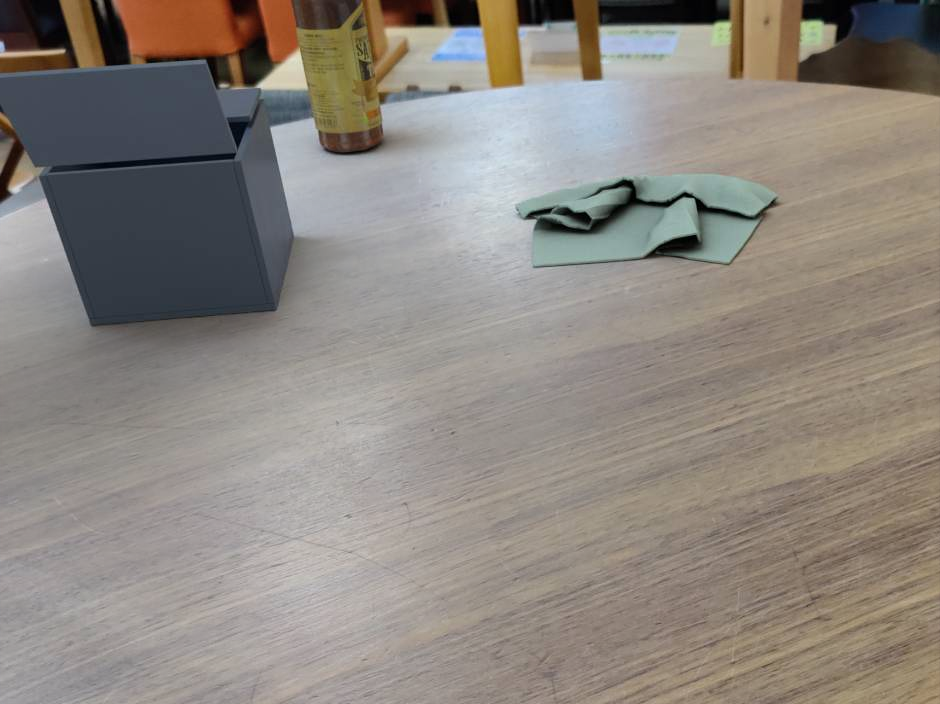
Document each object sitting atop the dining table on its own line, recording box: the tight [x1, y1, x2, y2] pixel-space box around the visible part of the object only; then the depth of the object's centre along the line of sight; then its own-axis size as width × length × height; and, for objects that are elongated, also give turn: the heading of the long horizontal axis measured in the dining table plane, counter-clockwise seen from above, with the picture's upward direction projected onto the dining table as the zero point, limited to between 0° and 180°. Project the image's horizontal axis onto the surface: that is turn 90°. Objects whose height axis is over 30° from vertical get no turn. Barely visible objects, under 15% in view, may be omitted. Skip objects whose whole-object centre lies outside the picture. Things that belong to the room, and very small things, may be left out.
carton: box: [38, 87, 295, 326], centre depth 87 cm, size 14×13×11 cm
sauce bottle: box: [290, 0, 384, 153], centre depth 108 cm, size 7×6×20 cm
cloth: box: [514, 173, 780, 268], centre depth 96 cm, size 20×22×2 cm
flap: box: [0, 59, 237, 168], centre depth 75 cm, size 7×13×1 cm
